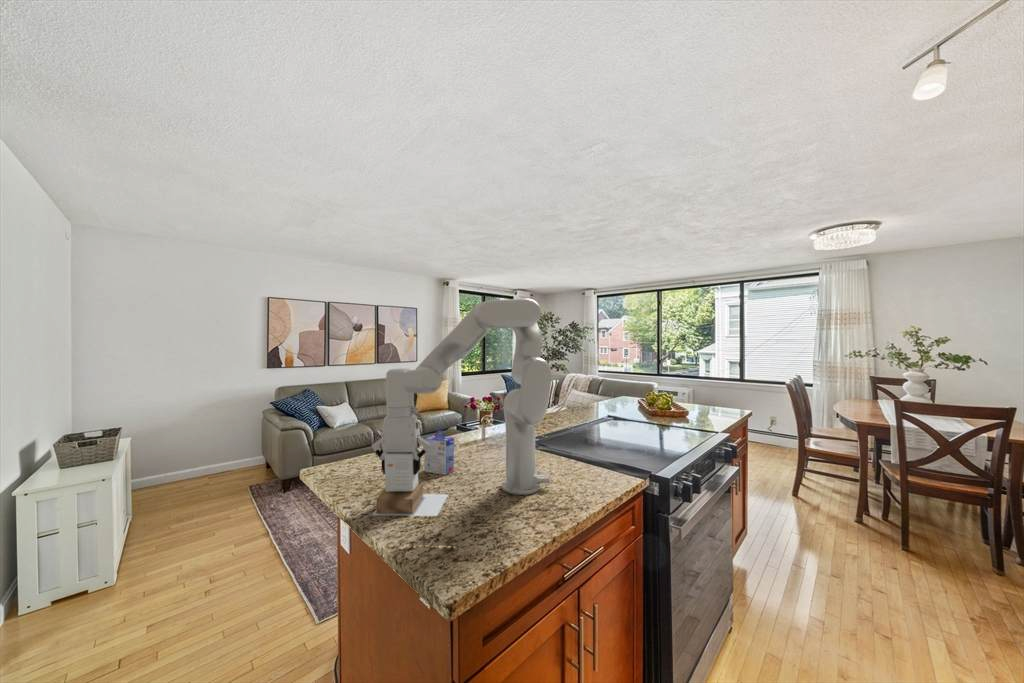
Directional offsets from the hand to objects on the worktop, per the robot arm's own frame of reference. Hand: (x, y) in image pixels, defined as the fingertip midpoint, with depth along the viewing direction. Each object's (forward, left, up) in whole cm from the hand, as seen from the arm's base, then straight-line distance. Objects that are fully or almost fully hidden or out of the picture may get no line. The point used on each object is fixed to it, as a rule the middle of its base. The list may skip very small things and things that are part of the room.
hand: (401, 472), depth 107 cm
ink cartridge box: (-4, -29, -10) cm, 31 cm away
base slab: (0, 0, -9) cm, 9 cm away
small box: (0, 0, -5) cm, 5 cm away
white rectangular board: (-3, -1, -10) cm, 10 cm away
